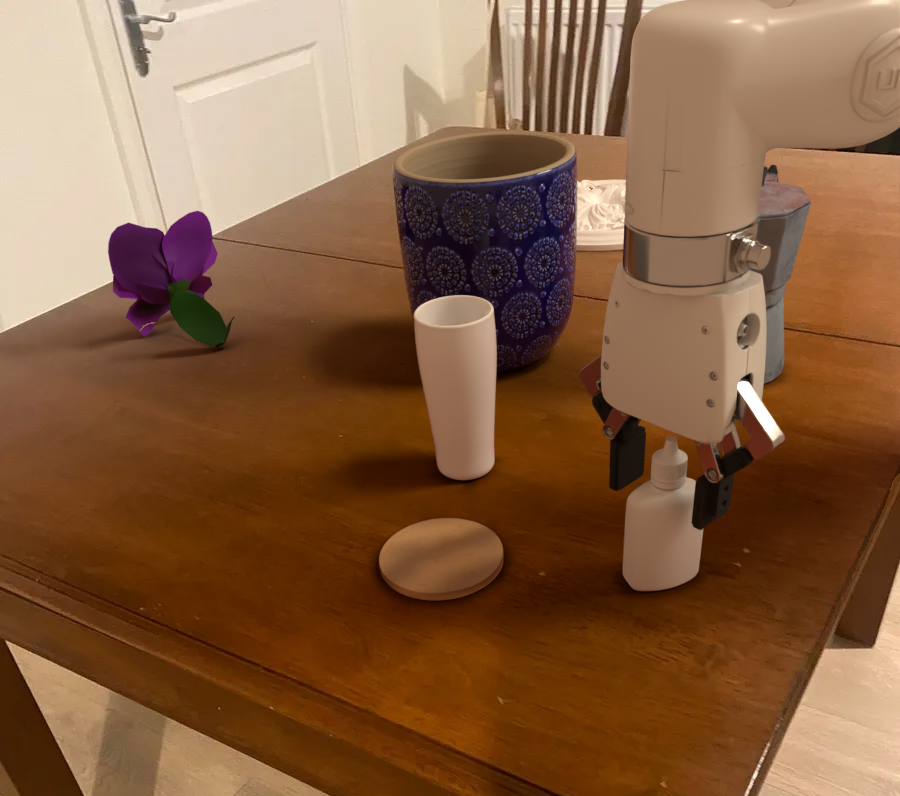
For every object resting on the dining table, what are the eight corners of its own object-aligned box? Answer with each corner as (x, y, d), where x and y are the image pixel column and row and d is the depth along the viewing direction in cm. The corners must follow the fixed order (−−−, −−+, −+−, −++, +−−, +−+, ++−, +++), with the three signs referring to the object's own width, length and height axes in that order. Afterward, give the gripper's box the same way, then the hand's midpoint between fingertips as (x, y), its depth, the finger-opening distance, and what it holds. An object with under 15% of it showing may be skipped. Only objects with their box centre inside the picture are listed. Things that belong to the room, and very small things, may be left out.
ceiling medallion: (729, 197, 138) (732, 175, 136) (656, 261, 120) (657, 236, 118) (562, 182, 151) (562, 161, 149) (474, 237, 133) (473, 215, 131)
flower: (269, 360, 118) (207, 292, 121) (281, 269, 106) (211, 195, 109) (171, 403, 111) (108, 330, 114) (172, 311, 98) (100, 231, 101)
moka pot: (675, 396, 92) (692, 185, 79) (703, 333, 102) (723, 138, 90) (774, 406, 89) (809, 188, 76) (793, 340, 99) (826, 139, 87)
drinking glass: (511, 452, 86) (504, 296, 76) (490, 491, 81) (480, 329, 72) (443, 445, 88) (428, 292, 78) (419, 483, 83) (400, 324, 74)
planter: (551, 396, 94) (548, 183, 81) (387, 380, 100) (360, 179, 87) (593, 323, 107) (597, 130, 94) (446, 312, 113) (430, 129, 100)
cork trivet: (529, 558, 73) (529, 550, 73) (435, 618, 68) (434, 610, 68) (446, 511, 79) (445, 503, 79) (355, 563, 74) (353, 556, 74)
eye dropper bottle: (625, 556, 72) (632, 421, 65) (698, 562, 71) (714, 424, 63) (620, 591, 69) (626, 453, 61) (696, 597, 68) (713, 457, 60)
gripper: (857, 260, 51) (804, 524, 62) (615, 206, 61) (607, 441, 73) (780, 303, 47) (738, 575, 59) (537, 238, 58) (542, 479, 69)
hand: (666, 499), depth 66 cm, fingers open, 6 cm apart
